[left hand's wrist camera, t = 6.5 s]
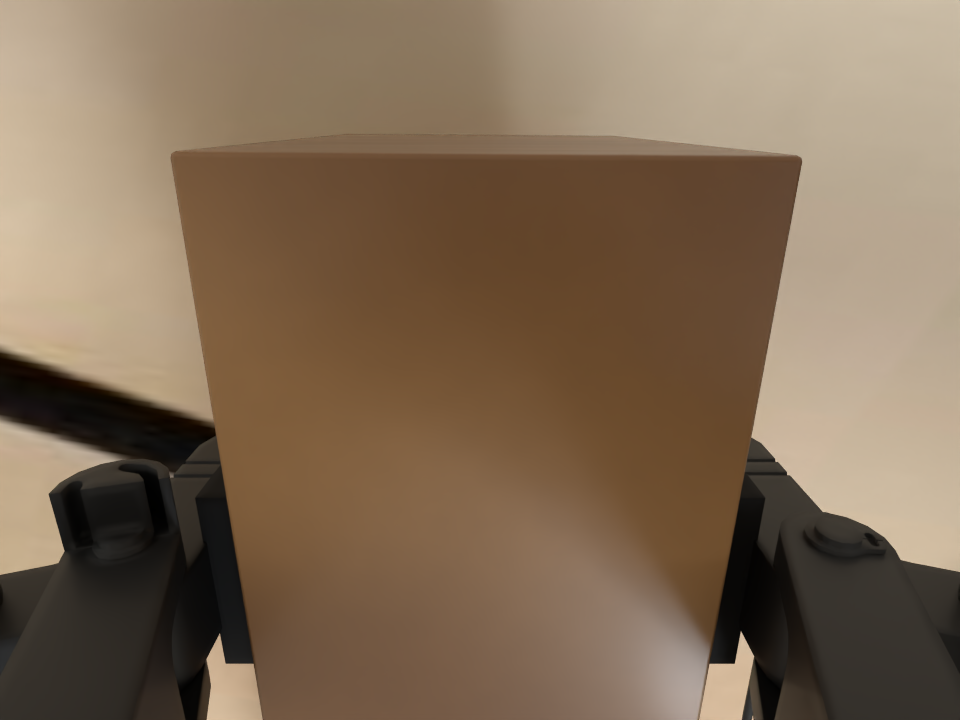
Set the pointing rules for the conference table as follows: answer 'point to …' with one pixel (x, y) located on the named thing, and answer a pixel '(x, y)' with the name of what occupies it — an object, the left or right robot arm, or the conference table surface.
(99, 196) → the conference table surface
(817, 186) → the conference table surface
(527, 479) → the beam
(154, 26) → the conference table surface
